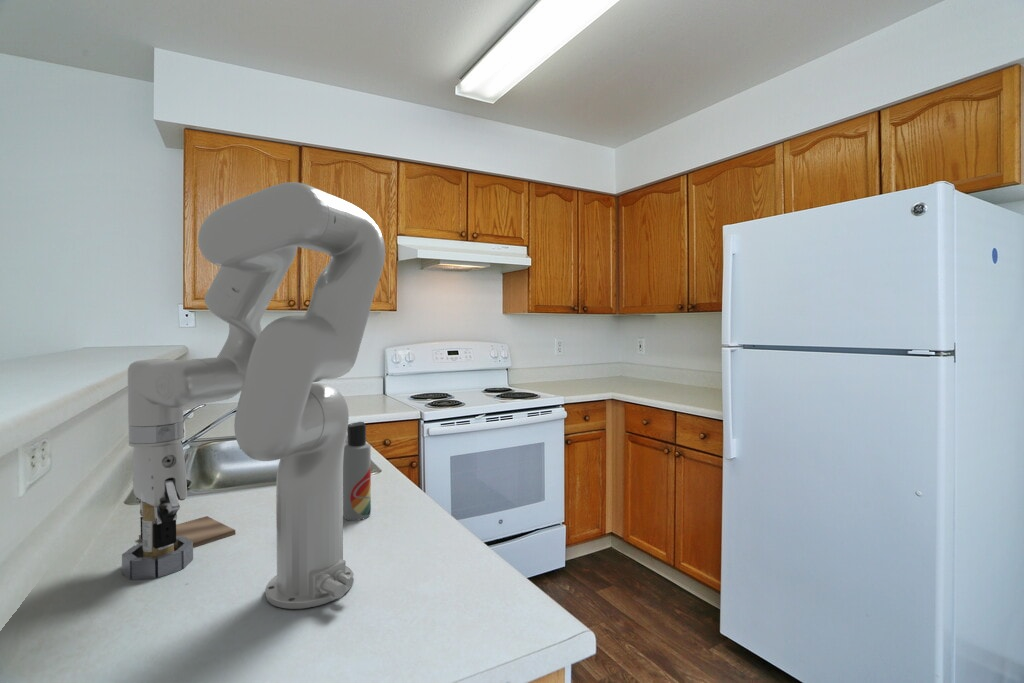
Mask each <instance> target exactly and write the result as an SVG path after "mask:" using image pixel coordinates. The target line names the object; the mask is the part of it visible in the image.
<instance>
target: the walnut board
mask: <svg viewBox="0 0 1024 683" xmlns="http://www.w3.org/2000/svg"><path fill="white" fill-rule="evenodd" d="M234 535H236V529H234V528H233V527H230V526H228V525H226V524H224V523H222V522H220V521H218V520H216V519H214V518H212V517H209V516H203V517H199V518H195V519H192V520H188V521H184V522H181V523H176V537H180V536H183V537H186V538H188V539H190V540H191V541H193V548H196V547H199V546H203V545H205V544H209V543H212V542H215V541H219V540H222V539H225V538H227V537H230V536H234ZM138 540H139V541H141V543H143V540H142V539H141V534H138Z"/></svg>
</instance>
